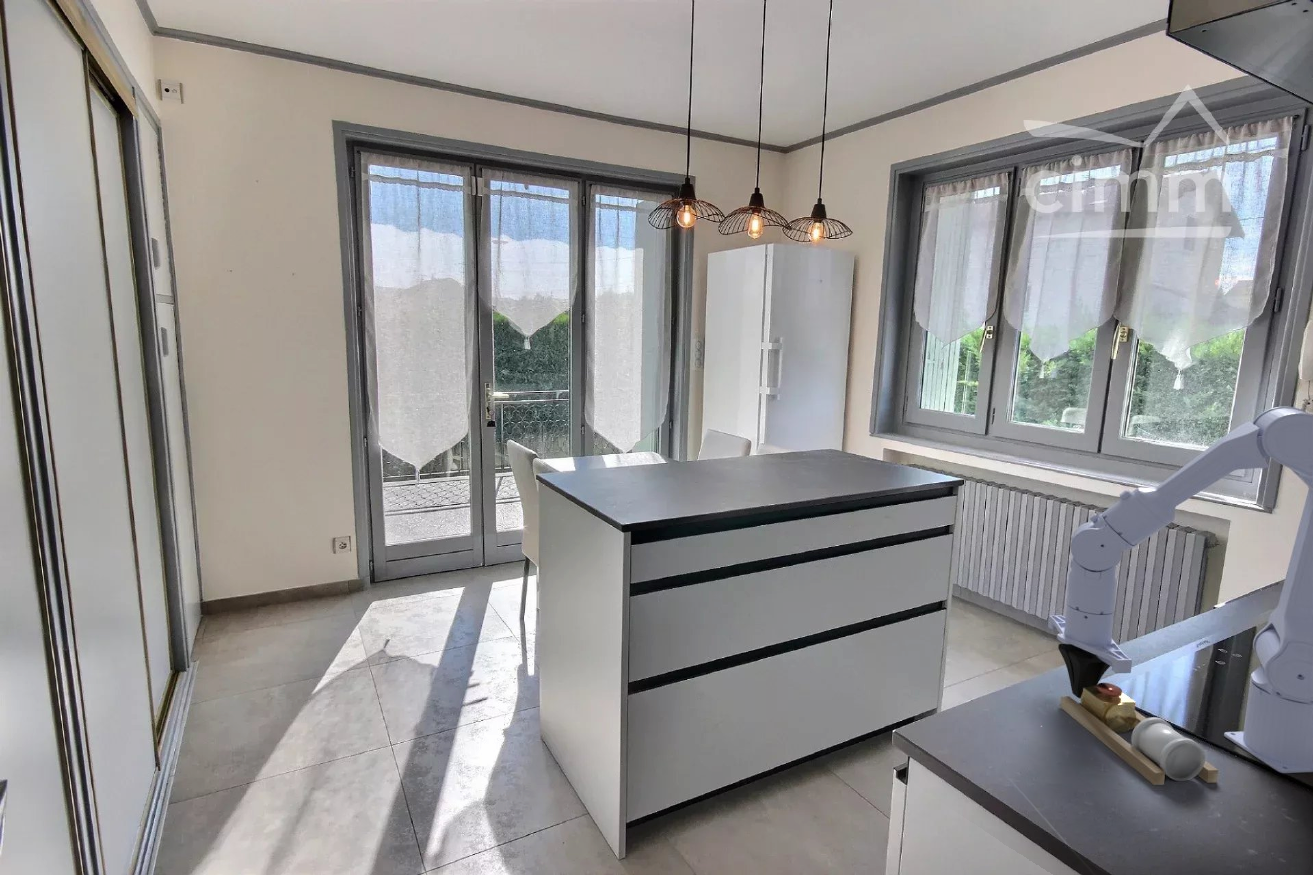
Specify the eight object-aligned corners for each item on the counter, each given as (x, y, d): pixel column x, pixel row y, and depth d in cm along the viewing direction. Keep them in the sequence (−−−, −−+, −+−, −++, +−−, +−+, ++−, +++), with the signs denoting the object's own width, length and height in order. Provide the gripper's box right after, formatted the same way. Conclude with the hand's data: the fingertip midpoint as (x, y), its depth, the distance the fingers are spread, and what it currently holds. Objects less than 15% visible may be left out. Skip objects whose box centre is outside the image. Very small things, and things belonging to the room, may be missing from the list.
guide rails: (1112, 704, 96) (1113, 694, 96) (1216, 782, 79) (1218, 769, 79) (1060, 706, 95) (1061, 696, 95) (1154, 785, 79) (1155, 772, 78)
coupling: (1129, 755, 84) (1133, 717, 83) (1168, 754, 84) (1172, 716, 84) (1161, 781, 79) (1165, 741, 78) (1202, 779, 80) (1207, 739, 79)
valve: (1078, 711, 94) (1081, 678, 93) (1108, 710, 94) (1111, 677, 94) (1104, 733, 89) (1107, 698, 88) (1136, 731, 89) (1139, 697, 89)
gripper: (1031, 588, 102) (1025, 671, 104) (1099, 629, 87) (1090, 725, 89) (1076, 587, 102) (1069, 670, 104) (1150, 627, 88) (1140, 723, 90)
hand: (1082, 695), depth 97 cm, fingers closed
